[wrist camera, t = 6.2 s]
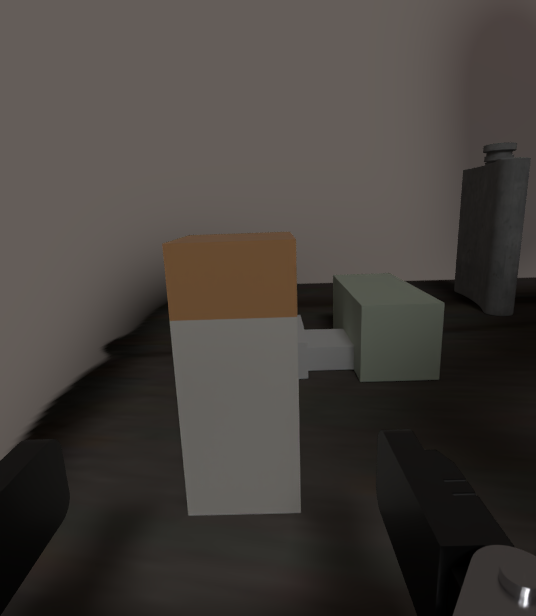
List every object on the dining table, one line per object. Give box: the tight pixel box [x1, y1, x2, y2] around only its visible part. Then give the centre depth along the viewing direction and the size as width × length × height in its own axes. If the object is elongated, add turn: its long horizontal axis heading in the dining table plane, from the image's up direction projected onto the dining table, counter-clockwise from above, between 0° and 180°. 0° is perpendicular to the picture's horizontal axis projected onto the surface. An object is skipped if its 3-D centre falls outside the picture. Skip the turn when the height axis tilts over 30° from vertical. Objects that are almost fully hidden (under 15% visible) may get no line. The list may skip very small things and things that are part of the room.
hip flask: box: [454, 143, 531, 316], centre depth 52 cm, size 16×4×20 cm, turn 171°
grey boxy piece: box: [297, 273, 445, 382], centre depth 37 cm, size 18×14×6 cm
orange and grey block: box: [163, 232, 301, 516], centre depth 19 cm, size 5×5×12 cm
